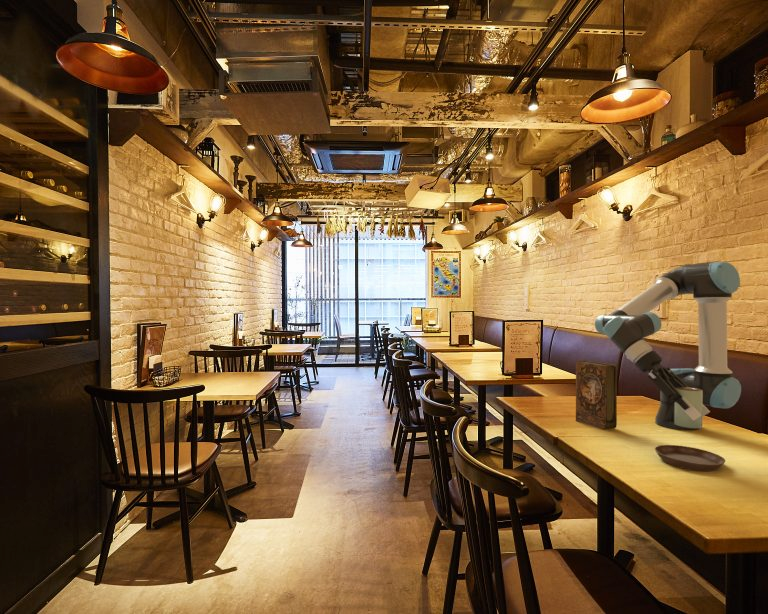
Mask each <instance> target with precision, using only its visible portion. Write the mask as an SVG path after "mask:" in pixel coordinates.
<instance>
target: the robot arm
mask: <svg viewBox="0 0 768 614" xmlns="http://www.w3.org/2000/svg"><path fill="white" fill-rule="evenodd" d="M740 285H741V278H740V274H739V272H738V270H737V268H736V267H735V266H734V264H732V263H730V262H727V261H710V262H702V263H693V264H689V263H688V264H685V265H681V266H678V267H675V268H674V269H671V270H669V271H668V272H666V273H664V274H663V275H661V276H659V277H658V278H656V279H655V280H654V282H653V284H652V285H651V286H649V287H648V288H647V289H645V290H644V291H642V292H641V293H639V294H638V295H636V296H635V297H633V298H631V299H630V300H629V301H627V302H626V303H625V304H623V305H621V306H620V307H618V308H617V309H615V310H614V311H613V312H611V313H609V314H601V315H598V316H596V319H595V321H594V327H595V330H596V331H597V333H599V334H601V335H606V336H607V338H608V340H610V342H612V343H613V345H615V346H616V347H617V348H618V349H619V351H621V352H622V354H624V355H625V356H626V359H627V360H629V361H631V362H632V363H633V364H634V365H635V367H636V368H637V369H638V370H639V371H640V372H641V373H642V374H643V373H644V374H645V373H648V374H646V376H647V378H648V379H650V380H651V381H652V383H654V385H655V386H656V387H657V388H658V389H659V390H660V391H659V392H660V393H659V394H660V395H659V397H660V401H659V402H660V405H659V407H658V410H657V413H656V415H655V424H656V425H658V426H661V427H665V428H668V429H673V430H683V431H696V430H700V429H701V428H687V427H681V426H678V425H675V424H674V422H675V402H676V403H677V404H678V405H679V406H680V407H681V408H682V409H683V410H684V411H685V413H686V414H687V415H688V416H689V417H690V418H691V419H692V420H693V421H694V420H696V419H697V418H699V417H700V416H702V418H703V417H704V416H706V415H708V414H709V413H711V411H710V410H709V409H708V407H712V408H714V409H715V408H716V409H717V408H718V409H730V408H732V407H733V406H735V405H736V403H738V401H739V399H740V397H741V395H742V394H741V393H742V384H741V383H740V381H739V379H736V378H735V377H733V375H734V374H733V371H732V370H731V369H730V368H729V367H728V317H727V316H728V315H727V314H728V313H727V312H728V310H727V309H728V308H727V303H728V302H729V301H730V300H731V299H732V298H733V294H734V293H735V292H737V291H738V290H739V287H740ZM682 295H692V296H693V297H692V298H693V300H695V301H696V302H697V307H698V309H697V313H698V316H697V317H698V319H697V321H698V327H697V328H698V365H697V366H696V367H695V368H687V367H686V368H670V367H665V366H663V365H661V362H662V361H663V357H661V355H659V354H658V353H657V352H656V351H655V350H653V347H652V346H651V345H650V344H649V343H648V342H647V341H646V340H644V338H646V337H649V336H653V335H654V334H656V333H657V332H659V331H660V330H661V329H662V325H663V324H662V320H661V318H660V317H659V315H657V314H656V313H654V312H652V311H653V310H654V309H656V308H657V307H659V306H661V305H662V304H663V303H664V302H666V301H668V300H672V299H675V298H676V297H679V296H682ZM676 387H692V388H698V389H701V390H703V406H702V415H701V414H700V413H699V412H698V411H697V410H696V409H695V408H694V407H693V406H692V405H691V404H690V402H689V401H688V400H687V399H686V398H685V397H683V398H682V396H681V395H680V394H679V392H678V391H677V390H676V389H675V388H676ZM706 406H707V407H706Z"/></svg>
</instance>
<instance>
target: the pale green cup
mask: <svg viewBox="0 0 768 614" xmlns="http://www.w3.org/2000/svg"><path fill="white" fill-rule="evenodd" d="M675 389H676V390H677V391H678V392H679V394H680V395H681V396H682V398H683V397H685V398H686V399H687V400H688V401H689V402H690V404H691V405H692V406H693V407H694V408H695V409H696V410H697V411H698V412H699V413H700V414H701V415H702V406H703V390H701V389H698V388H692V387H676V388H675ZM674 424H675V425H678V426H681V427H687V428H700V429H702V428H703V417H702V416H700V417H699V418H697V419H696V420H694V421H693V420H692V419H691V418H690V417H689V416H688V415H687V414H686V413H685V411H684V410H683V409H682V408H681V407H680V406H679V405H678V404H677V403H676V402H675V422H674Z"/></svg>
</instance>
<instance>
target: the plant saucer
mask: <svg viewBox="0 0 768 614" xmlns="http://www.w3.org/2000/svg"><path fill="white" fill-rule="evenodd" d="M654 450H655V452H656V453H657V454H656V455H658V456H659V458H660V459H661V460H662V461H663V462H664V463H667V464H669V465H671V466H673V467H677V468H681V469H686V470H690V469H691V471H698V472H699V471H700V472H712V471H716V470H718V469H720V467H723V465H724V464H725V463H726V459H725V458H724V457H722V455H719V454H716V453H715V452H711V451H709V450H705V449H701V448H697V447H690V446H687V445H686V446H685V445H684V446H683V445H676V444H675V445H674V444H662V445H657V446H655V447H654Z"/></svg>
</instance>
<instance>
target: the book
mask: <svg viewBox="0 0 768 614" xmlns="http://www.w3.org/2000/svg"><path fill="white" fill-rule="evenodd" d="M617 369H618V368H617V365H616V364H610V363H603V362H598V361H597V362H595V361H589V360H576V361H575V421H576V422H578V423H581V424H584V425H588V426H591V427H594V428H598V429H601V430H607V429H616V428H617V425H618V424H617V423H618V420H617V419H618V418H617V416H618V415H617V413H618V411H617V409H618V408H617V406H618V405H617V404H618V403H617V400H618V398H617V397H618V396H617V393H618V390H617V389H618V387H617V384H618V382H617V380H618V379H617V377H618V376H617Z"/></svg>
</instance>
